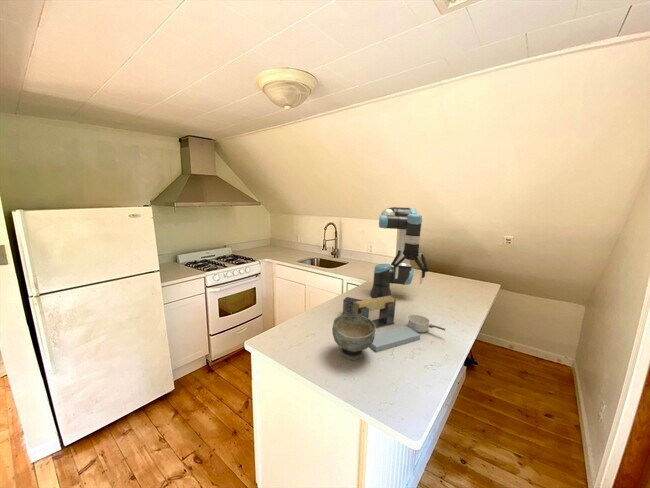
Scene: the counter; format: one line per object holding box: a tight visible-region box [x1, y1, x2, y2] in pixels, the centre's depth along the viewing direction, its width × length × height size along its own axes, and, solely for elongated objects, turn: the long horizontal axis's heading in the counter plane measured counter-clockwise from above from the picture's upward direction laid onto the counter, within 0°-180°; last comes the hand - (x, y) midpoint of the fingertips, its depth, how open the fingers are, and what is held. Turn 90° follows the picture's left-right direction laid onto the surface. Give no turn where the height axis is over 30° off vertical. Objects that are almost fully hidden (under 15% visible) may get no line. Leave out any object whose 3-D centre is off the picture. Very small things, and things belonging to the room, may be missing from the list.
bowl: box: [331, 314, 377, 361], centre depth 122 cm, size 20×19×15 cm
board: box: [369, 325, 421, 353], centre depth 136 cm, size 10×28×2 cm, turn 117°
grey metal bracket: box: [353, 303, 396, 329], centre depth 151 cm, size 7×24×12 cm, turn 117°
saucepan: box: [407, 314, 446, 333], centre depth 146 cm, size 12×20×6 cm, turn 45°
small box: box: [342, 296, 363, 315], centre depth 161 cm, size 11×6×10 cm, turn 65°
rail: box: [353, 294, 397, 314], centre depth 149 cm, size 4×26×5 cm, turn 117°
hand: (408, 280), depth 150 cm, fingers open, 13 cm apart
